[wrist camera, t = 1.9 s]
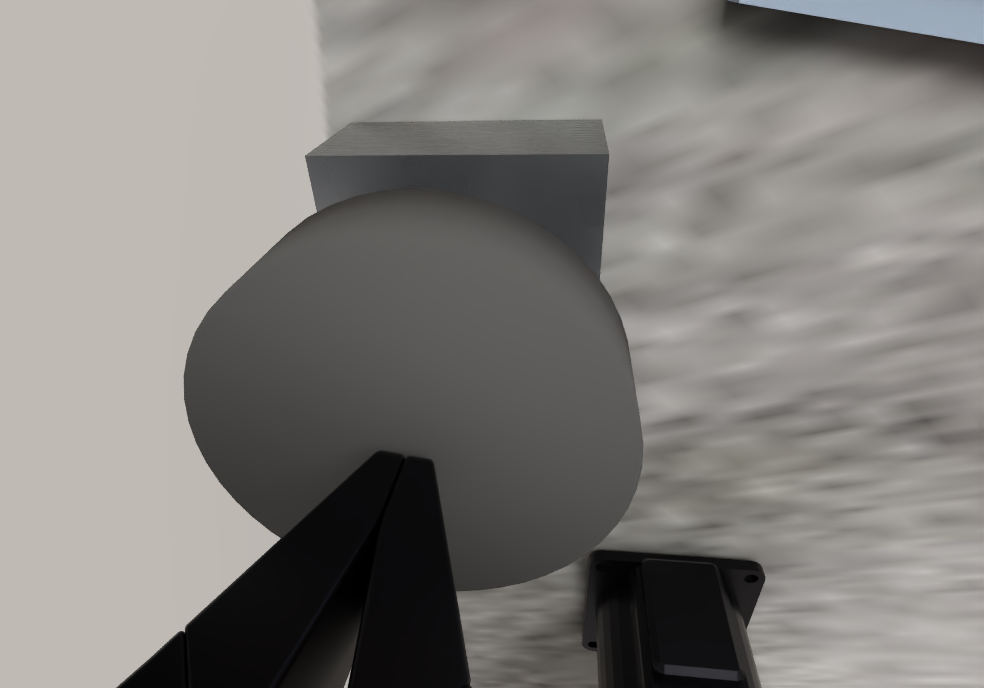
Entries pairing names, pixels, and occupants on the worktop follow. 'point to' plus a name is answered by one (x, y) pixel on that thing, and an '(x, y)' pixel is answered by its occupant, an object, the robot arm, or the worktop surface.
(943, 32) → the tray
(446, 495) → the wheel
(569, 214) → the axle mount
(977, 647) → the worktop surface
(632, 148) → the worktop surface
